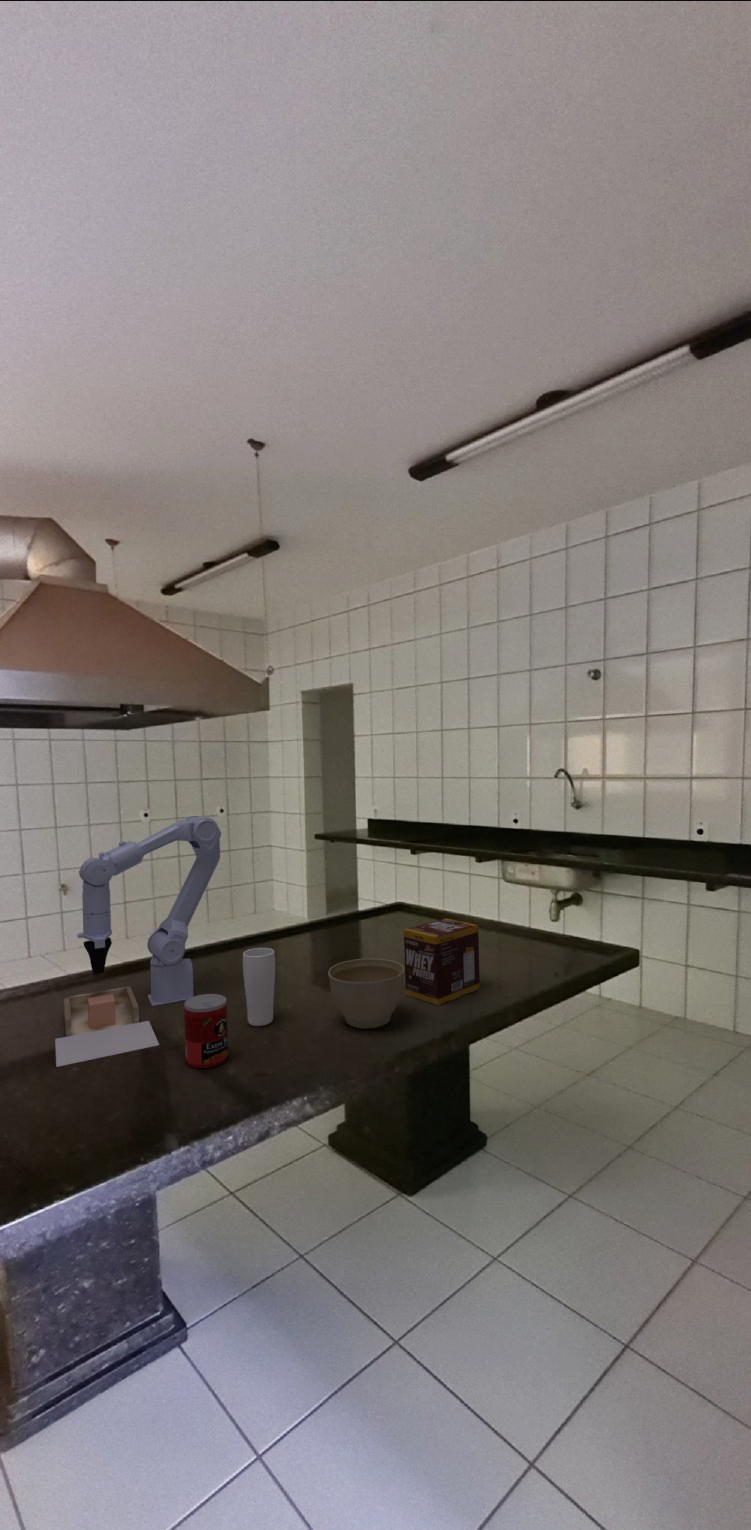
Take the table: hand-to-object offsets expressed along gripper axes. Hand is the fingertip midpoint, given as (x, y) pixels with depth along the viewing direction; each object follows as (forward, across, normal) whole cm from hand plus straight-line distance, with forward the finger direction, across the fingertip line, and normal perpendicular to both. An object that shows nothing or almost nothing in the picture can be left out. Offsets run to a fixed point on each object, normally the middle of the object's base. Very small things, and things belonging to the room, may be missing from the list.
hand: (98, 973), depth 144 cm
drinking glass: (+10, +23, +30) cm, 39 cm away
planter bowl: (+10, +34, +50) cm, 61 cm away
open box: (+9, +4, 0) cm, 10 cm away
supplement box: (+10, +28, +73) cm, 79 cm away
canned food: (+10, +35, +16) cm, 40 cm away
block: (+9, +7, 0) cm, 11 cm away
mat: (+9, +18, 0) cm, 20 cm away
